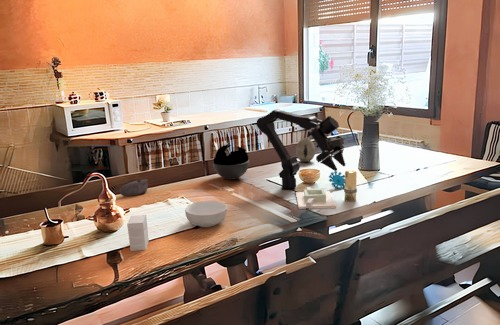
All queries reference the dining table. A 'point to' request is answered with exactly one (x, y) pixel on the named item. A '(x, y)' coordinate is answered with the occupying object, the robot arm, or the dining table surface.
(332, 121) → the robot arm
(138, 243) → the small box
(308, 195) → the shaft mount
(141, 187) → the perforated stone tool
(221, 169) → the coal bowl
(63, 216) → the dining table surface
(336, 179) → the teal spiky figurine
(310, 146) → the decorative egg
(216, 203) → the cereal bowl
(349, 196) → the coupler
